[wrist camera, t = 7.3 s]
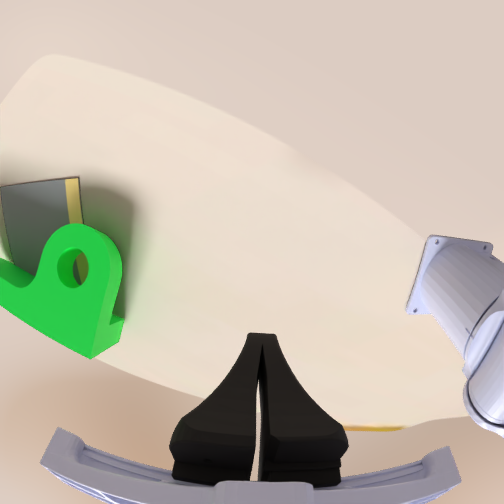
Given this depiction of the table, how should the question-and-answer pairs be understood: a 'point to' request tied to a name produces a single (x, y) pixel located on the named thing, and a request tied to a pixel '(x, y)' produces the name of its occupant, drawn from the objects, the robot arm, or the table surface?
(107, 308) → the bracket
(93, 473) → the robot arm
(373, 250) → the table surface
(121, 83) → the table surface
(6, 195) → the mat
